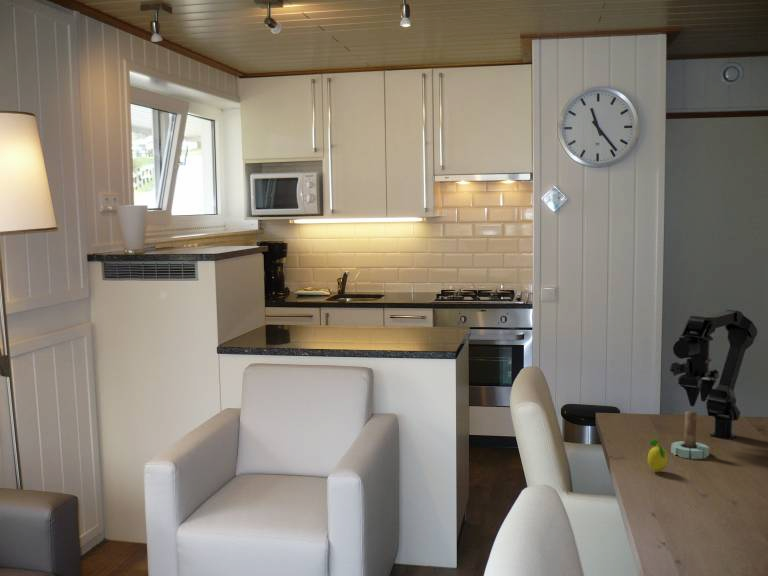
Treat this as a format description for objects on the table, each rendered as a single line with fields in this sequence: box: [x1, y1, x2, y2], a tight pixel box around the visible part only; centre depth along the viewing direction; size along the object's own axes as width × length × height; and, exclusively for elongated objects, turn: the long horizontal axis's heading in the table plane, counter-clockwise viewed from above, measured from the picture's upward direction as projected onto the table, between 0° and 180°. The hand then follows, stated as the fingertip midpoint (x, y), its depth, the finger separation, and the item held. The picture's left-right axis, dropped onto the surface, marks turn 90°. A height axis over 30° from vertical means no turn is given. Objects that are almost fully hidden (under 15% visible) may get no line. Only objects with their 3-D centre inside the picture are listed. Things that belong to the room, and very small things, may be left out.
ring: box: [670, 440, 710, 460], centre depth 255 cm, size 10×10×2 cm
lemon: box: [647, 438, 669, 473], centre depth 237 cm, size 7×6×10 cm
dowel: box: [683, 410, 698, 449], centre depth 255 cm, size 3×3×13 cm
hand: (697, 403), depth 266 cm, fingers open, 9 cm apart
